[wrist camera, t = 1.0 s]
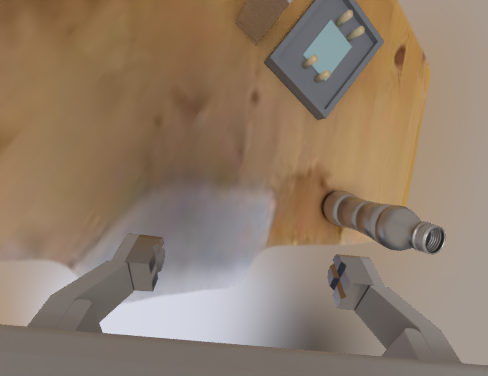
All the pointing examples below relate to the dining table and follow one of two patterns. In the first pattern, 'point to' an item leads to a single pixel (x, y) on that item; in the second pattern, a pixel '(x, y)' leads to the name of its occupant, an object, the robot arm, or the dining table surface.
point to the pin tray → (325, 53)
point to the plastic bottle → (384, 223)
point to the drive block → (260, 17)
